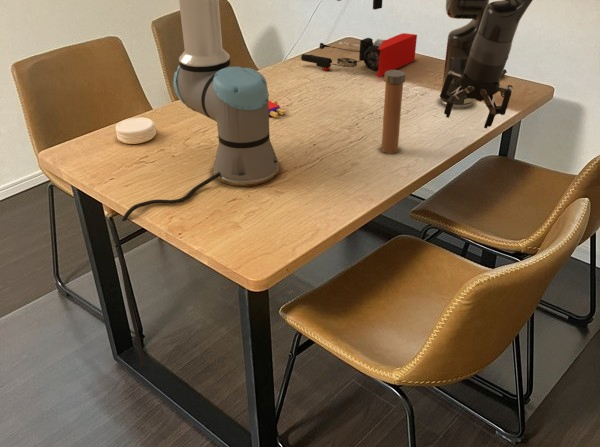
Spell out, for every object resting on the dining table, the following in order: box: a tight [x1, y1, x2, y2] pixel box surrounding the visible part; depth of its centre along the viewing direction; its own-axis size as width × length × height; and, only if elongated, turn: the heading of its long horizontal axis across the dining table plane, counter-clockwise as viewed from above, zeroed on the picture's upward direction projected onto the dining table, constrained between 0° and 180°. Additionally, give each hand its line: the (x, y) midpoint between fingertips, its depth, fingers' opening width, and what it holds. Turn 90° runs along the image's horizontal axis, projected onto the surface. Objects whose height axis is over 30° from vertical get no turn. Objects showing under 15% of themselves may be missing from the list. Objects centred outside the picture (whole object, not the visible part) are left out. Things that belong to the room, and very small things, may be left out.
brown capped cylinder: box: [381, 82, 404, 154], centre depth 149 cm, size 4×4×19 cm
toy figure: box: [268, 99, 286, 118], centre depth 176 cm, size 2×7×12 cm
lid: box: [383, 69, 406, 84], centre depth 145 cm, size 5×5×2 cm
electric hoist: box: [300, 32, 418, 78], centre depth 210 cm, size 10×27×30 cm
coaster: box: [114, 116, 157, 145], centre depth 162 cm, size 10×10×4 cm
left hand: (358, 4), depth 166 cm, fingers open, 13 cm apart
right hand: (466, 121), depth 137 cm, fingers open, 8 cm apart
